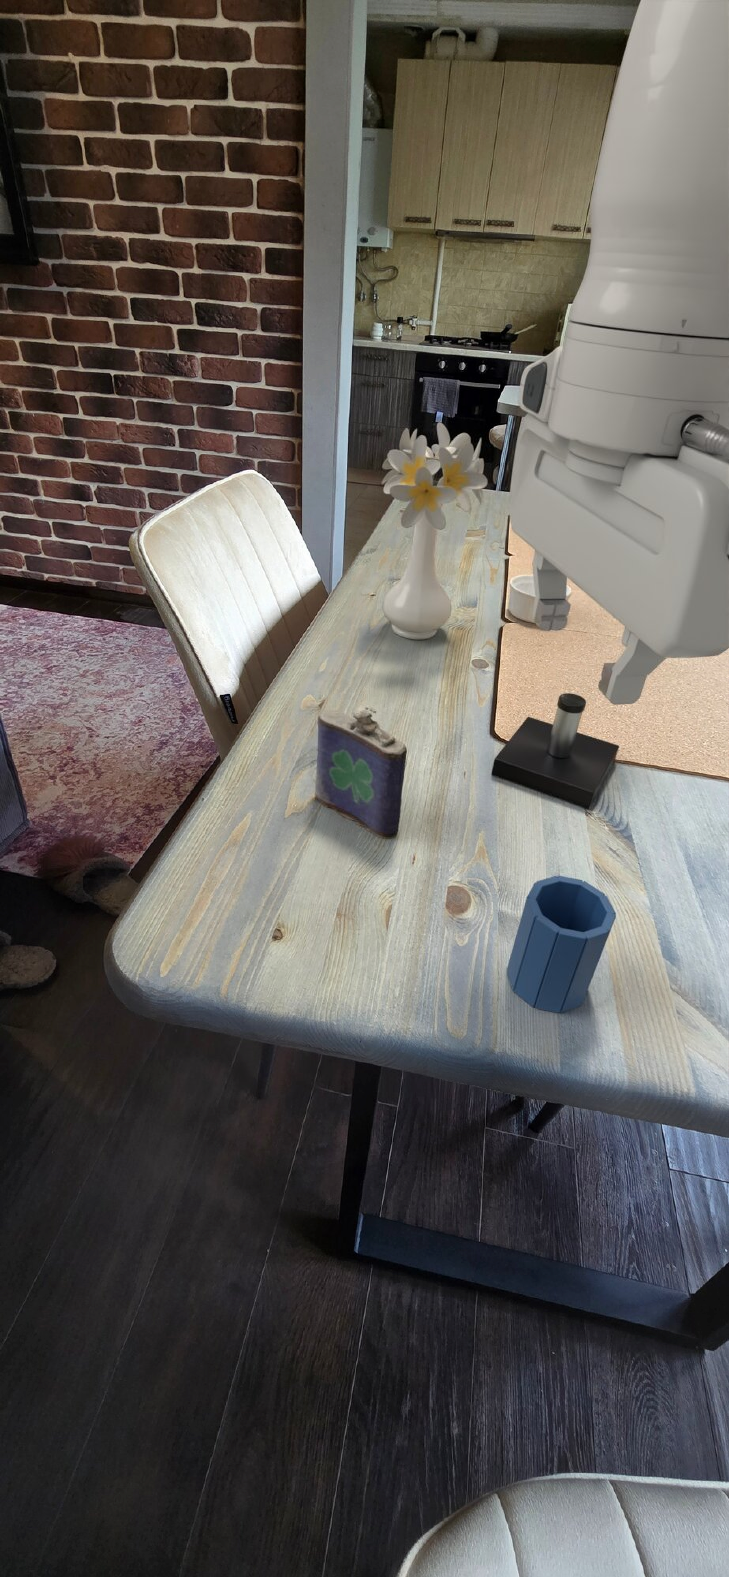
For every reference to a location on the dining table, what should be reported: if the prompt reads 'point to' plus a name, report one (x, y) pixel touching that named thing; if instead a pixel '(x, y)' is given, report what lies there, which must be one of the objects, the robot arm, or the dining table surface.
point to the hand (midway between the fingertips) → (579, 659)
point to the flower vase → (427, 523)
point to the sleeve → (559, 943)
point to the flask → (360, 771)
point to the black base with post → (557, 756)
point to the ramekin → (524, 597)
